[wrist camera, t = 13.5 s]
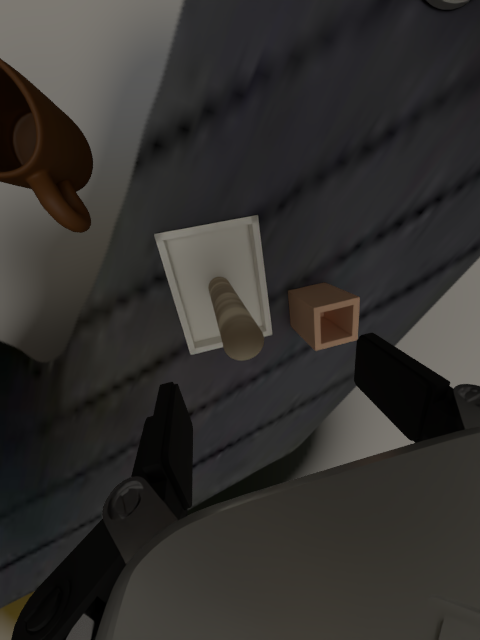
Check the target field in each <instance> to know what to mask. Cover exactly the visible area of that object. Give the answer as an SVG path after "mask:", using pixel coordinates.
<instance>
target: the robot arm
mask: <svg viewBox="0 0 480 640" xmlns="http://www.w3.org/2000/svg"><path fill="white" fill-rule="evenodd" d="M426 1H427V2H428V3H429V4H431V5H432V6H433V7H436V8H439V9H442V10H452V9H456V8H459V7H462V6H463V5H465V4H467V3H468V2H470V1H471V0H426ZM354 381H355V384H356V385H357V387H359V388H360V390H361V391H362V392H364V394H365V395H366V396H367V397H368V398H369V399H370V400H371V401H372V402H373V403H374V404H375V405H376V406H377V407H378V408H379V409H380V410H381V411H382V412H383V413H384V414H385V415H386V416H387V417H388V418H389V419H390V420H391V422H392V423H393V424H394V425H395V426H396V427H397V428H398V429H399V430H400V431H401V432H402V433H403V434H404V435H405V436H406V437H407V438H408V439H409V440H411V441H414V442H415V443H414V444H410V445H407V446H404V447H400V448H397V449H394V450H390V451H387V452H383V453H380V454H377V455H373V456H370V457H367V458H364V459H360V460H357V461H353V462H350V463H347V464H344V465H340V466H337V467H334V468H330V469H327V470H324V471H320V472H317V473H314V474H310V475H307V476H304V477H301V478H297V479H294V480H291V481H288V482H284V483H281V484H278V485H275V486H271V487H268V488H265V489H262V490H259V491H255V492H252V493H249V494H246V495H243V496H240V497H237V498H234V499H231V500H228V501H225V502H222V503H219V504H215V505H213V506H210V507H208V508H205V509H203V510H200V511H197V512H195V513H192V514H191V515H188V516H187V508H191V506H192V461H193V426H192V422H191V419H190V416H189V414H188V411H187V408H186V405H185V403H184V400H183V397H182V394H181V392H180V389H179V386H178V384H174V383H173V382H170V383H166V384H162V385H160V387H159V392H158V396H157V401H156V405H155V410H154V415H153V416H151V417H147V419H146V421H145V424H144V428H143V432H142V436H141V440H140V444H139V448H138V452H137V456H136V460H135V464H134V468H133V472H132V476H131V477H130V478H128V479H125V480H123V481H122V482H121V483H119V484H118V485H117V486H116V487H115V488H114V489H113V490H112V491H111V492H110V494H109V496H108V497H107V499H106V501H105V503H104V506H103V510H102V517H103V519H102V520H101V521H100V522H99V523H98V524H97V525H96V526H95V527H94V529H93V530H92V531H91V532H90V533H89V534H88V535H87V536H86V537H85V538H84V539H83V540H82V541H81V542H80V543H79V545H78V546H77V547H76V548H75V549H74V550H73V551H72V552H71V553H70V554H69V555H68V556H67V557H66V558H65V559H64V561H63V562H62V563H61V564H60V565H59V566H58V567H57V568H56V569H55V570H54V571H53V572H52V573H51V574H50V576H49V577H48V578H47V579H46V580H45V581H44V582H43V583H42V584H41V585H40V586H39V587H38V588H37V590H36V591H35V592H34V593H33V595H32V596H31V597H30V598H29V600H28V601H27V603H26V605H25V606H24V608H23V609H22V611H21V613H20V615H19V617H18V619H17V622H16V624H15V627H14V631H13V635H12V639H11V640H480V386H477V385H470V384H461V385H458V386H456V387H455V388H454V389H453V388H452V387H450V386H449V385H450V382H449V381H448V380H446V379H445V378H443V377H442V376H440V375H438V374H437V373H435V372H434V371H432V370H431V369H429V368H427V367H426V366H424V365H423V364H421V363H419V362H418V361H416V360H415V359H413V358H412V357H410V356H409V355H407V354H405V353H404V352H402V351H401V350H399V349H398V348H396V347H395V346H393V345H391V344H390V343H388V342H387V341H385V340H384V339H382V338H380V337H379V336H377V335H376V334H374V333H368V334H364V335H361V336H360V337H359V339H358V340H357V346H356V360H355V375H354Z"/></svg>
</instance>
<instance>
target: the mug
mask: <svg viewBox="0 0 480 640" xmlns="http://www.w3.org/2000/svg"><path fill="white" fill-rule="evenodd" d="M92 169H93V158H92V153H91V149H90V146H89V144H88V142H87V140H86V138H85V136H84V135H83V133H82V131H81V130H80V129H79V127H78V126H77V125H76V124H75V123H74V122H73V121H72V120H71V119H70V118H69V117H68V116H67V115H66V114H65V113H64V112H63V111H62V110H60V109H59V108H58V107H57V106H56V105H55V104H54V103H53V102H52V101H51V100H50V99H48V97H46V96H45V95H44V94H43V93H42V92H41V91H40V90H39V89H37V88H36V87H35V86H34V85H33V84H32V83H30V81H28V80H27V79H26V78H25V77H24V76H23V75H21V74H20V73H19V72H18V71H16V70H15V69H14V68H12V67H11V66H10V65H8V64H7V63H6V62H4V61H3V60H1V59H0V182H4V183H8V184H12V185H16V186H21V187H25V188H29V189H32V190H33V191H34V193H35V195H36V196H37V198H38V200H39V201H40V203H41V205H42V206H43V207H44V209H45V210H46V211H47V212H48V213H49V214H50V215H51V216H52V217H53V218H54V219H55V220H56V221H57V222H58V223H59V224H61V225H62V226H63V227H65V228H67V229H69V230H71V231H73V232H80V233H81V232H85V231H87V230H88V229H89V228H90V225H91V218H90V215H89V212H88V210H87V208H86V207H85V205H84V204H83V202H82V200H81V199H80V198H79V196H78V195H77V193H76V191H78V190H80V189H82V188H83V187H84V186H85V185H86V184H87V183H88V181H89V179H90V177H91V174H92Z"/></svg>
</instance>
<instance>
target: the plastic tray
mask: <svg viewBox="0 0 480 640" xmlns="http://www.w3.org/2000/svg"><path fill="white" fill-rule="evenodd" d="M154 236H155V240H156V243H157V246H158V250H159V253H160V256H161V259H162V263H163V266H164V269H165V272H166V276H167V279H168V282H169V286H170V289H171V292H172V295H173V299H174V302H175V305H176V309H177V312H178V315H179V318H180V322H181V325H182V328H183V331H184V335H185V338H186V341H187V345H188V348H189V351H190V354H191V355H193V354H197V353H201V352H205V351H209V350H213V349H217V348H221V347H223V343H222V339H221V335H220V332H219V328H218V324H217V320H216V316H215V312H214V308H213V305H212V301H211V297H210V293H209V288H208V287H209V283H210V281H211V280H212V279H213V278H215V277H224V278H226V279H227V280H228V281H229V283H230V284H231V286H232V287H233V289H234V290H235V292H236V293H237V295H238V296H239V298H240V299H241V301H242V302H243V304H244V305H245V307H246V308H247V310H248V311H249V313H250V314H251V316H252V318H253V319H254V321H255V322H256V324H257V325H258V327H259V328H260V330H261V331H262V333H263V336H264V337H265V336H269V335H272V327H271V319H270V310H269V302H268V294H267V286H266V278H265V270H264V262H263V253H262V245H261V237H260V229H259V221H258V215H255V216H249V217H244V218H239V219H233V220H228V221H222V222H217V223H212V224H206V225H201V226H195V227H190V228H185V229H179V230H174V231H168V232H163V233H158V234H154Z"/></svg>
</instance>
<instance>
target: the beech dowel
mask: <svg viewBox="0 0 480 640" xmlns="http://www.w3.org/2000/svg"><path fill="white" fill-rule="evenodd" d="M208 288H209V293H210V297H211V301H212V305H213V308H214V312H215V316H216V320H217V324H218V328H219V332H220V335H221V339H222V343H223V347H224V350H225V352H226V354H227V355H228V356H229V357H231V358H233V359H235V360H248V359H251V358H253V357H254V356H256V355H257V354H258V353H259V352H260V351H261V349H262V347H263V344H264V336H263V333H262V331H261V330H260V328H259V327H258V325H257V324H256V322H255V321H254V319H253V318H252V316H251V314H250V313H249V311H248V310H247V308H246V307H245V305H244V304H243V302H242V301H241V299H240V298H239V296H238V295H237V293H236V292H235V290H234V289H233V287H232V286H231V284H230V283H229V281H228V280H227V279H226V278H224V277H215V278H213V279H212V280H211V281H210V283H209V287H208Z"/></svg>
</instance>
